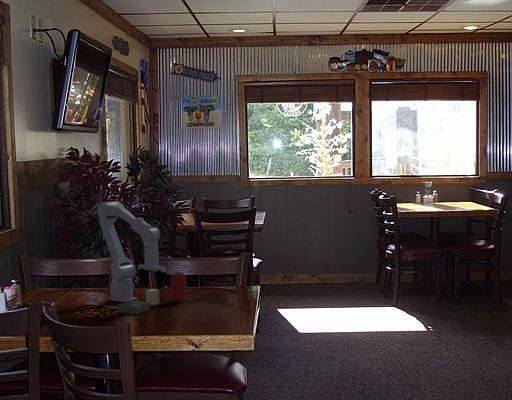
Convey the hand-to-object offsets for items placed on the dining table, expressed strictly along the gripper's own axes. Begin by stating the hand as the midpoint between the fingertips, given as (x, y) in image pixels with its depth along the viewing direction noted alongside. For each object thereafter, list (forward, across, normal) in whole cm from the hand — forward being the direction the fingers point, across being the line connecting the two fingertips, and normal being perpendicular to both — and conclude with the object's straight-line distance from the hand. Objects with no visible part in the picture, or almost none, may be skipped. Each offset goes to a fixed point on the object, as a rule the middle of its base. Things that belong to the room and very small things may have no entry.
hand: (152, 287), depth 291 cm
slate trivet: (+7, +3, -14) cm, 16 cm away
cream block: (+7, 0, 0) cm, 7 cm away
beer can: (+7, +6, +10) cm, 14 cm away
